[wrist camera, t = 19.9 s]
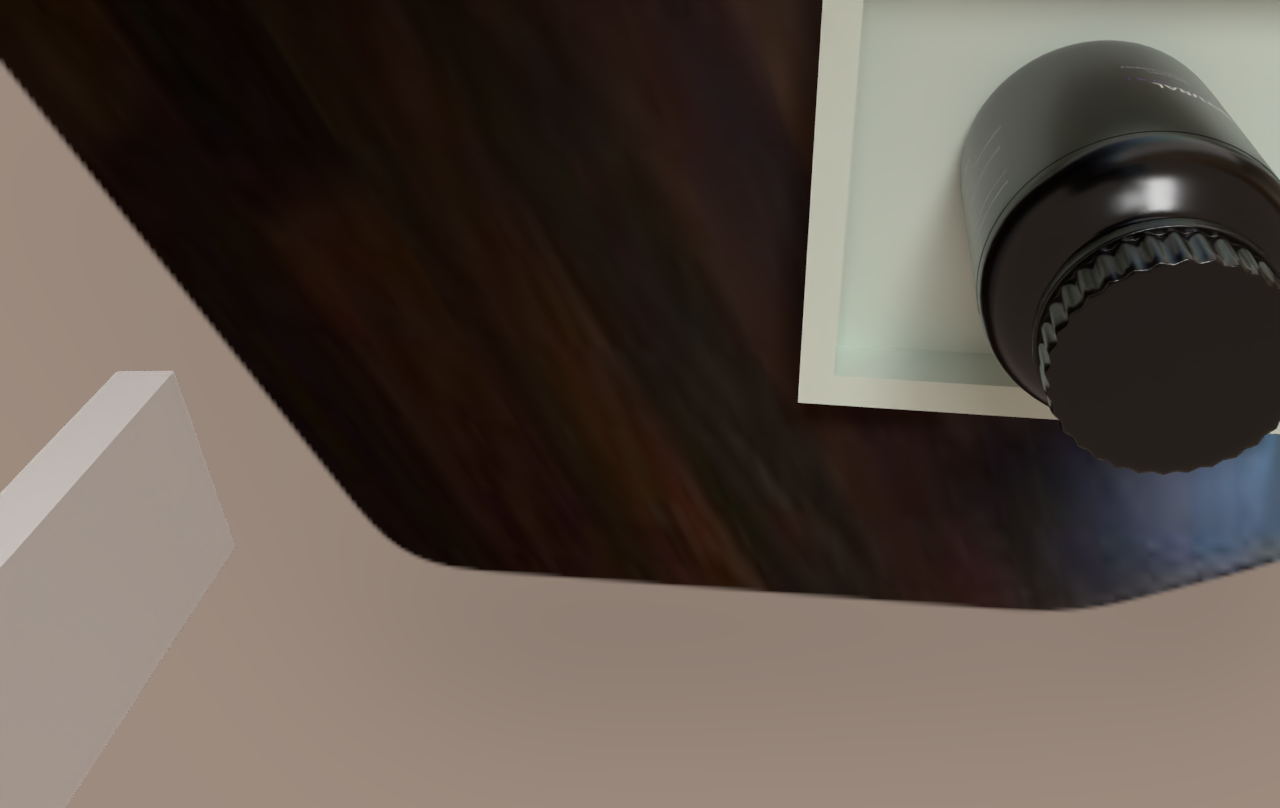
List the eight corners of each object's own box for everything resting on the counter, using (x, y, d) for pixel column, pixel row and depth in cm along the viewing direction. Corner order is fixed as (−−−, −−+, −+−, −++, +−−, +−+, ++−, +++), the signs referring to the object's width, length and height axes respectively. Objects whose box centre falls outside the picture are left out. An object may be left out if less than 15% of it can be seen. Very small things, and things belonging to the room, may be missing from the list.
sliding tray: (830, -116, 31) (828, -99, 29) (1418, -110, 30) (1461, -92, 27) (800, 361, 39) (797, 402, 37) (1271, 390, 37) (1295, 435, 35)
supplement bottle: (1240, 26, 31) (1423, 206, 21) (1196, 272, 35) (1336, 527, 25) (961, 35, 32) (1008, 210, 22) (946, 272, 36) (981, 516, 26)
